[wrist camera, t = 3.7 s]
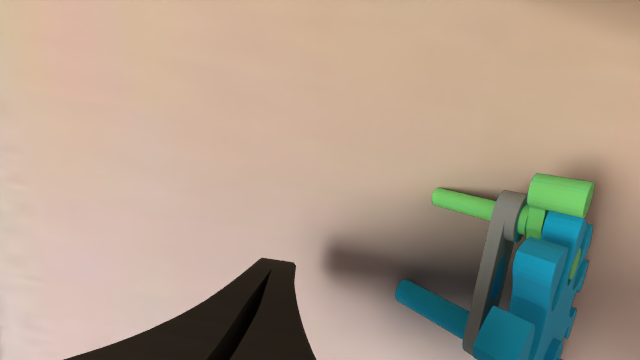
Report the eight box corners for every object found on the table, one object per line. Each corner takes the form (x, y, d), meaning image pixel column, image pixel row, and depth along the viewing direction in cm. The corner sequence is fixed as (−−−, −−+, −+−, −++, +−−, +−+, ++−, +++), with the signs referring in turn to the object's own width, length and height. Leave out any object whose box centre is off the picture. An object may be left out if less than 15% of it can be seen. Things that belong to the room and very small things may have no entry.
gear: (561, 430, 13) (464, 688, 6) (435, 348, 17) (299, 452, 11) (635, 184, 11) (606, 191, 5) (475, 160, 16) (343, 147, 9)
